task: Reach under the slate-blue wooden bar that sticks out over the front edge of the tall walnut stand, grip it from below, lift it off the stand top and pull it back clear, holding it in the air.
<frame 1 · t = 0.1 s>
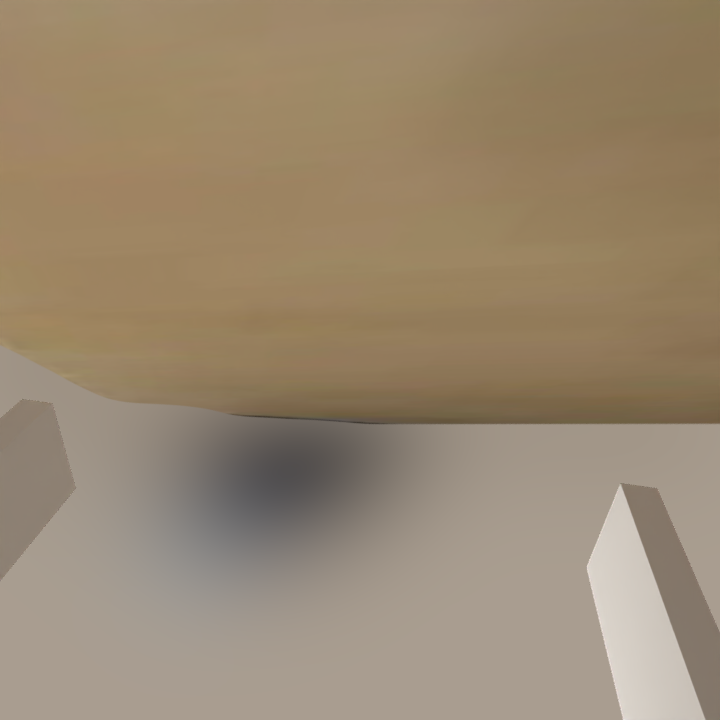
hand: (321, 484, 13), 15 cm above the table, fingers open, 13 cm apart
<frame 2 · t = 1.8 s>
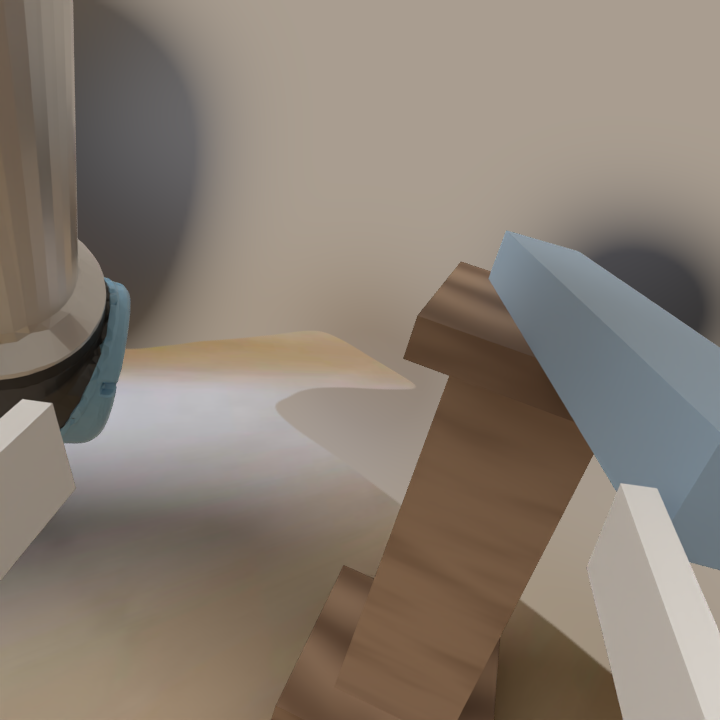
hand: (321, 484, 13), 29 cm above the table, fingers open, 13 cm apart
bar: (583, 364, 23), point 30 cm above the table, touching stand
stand: (387, 707, 40), on the table
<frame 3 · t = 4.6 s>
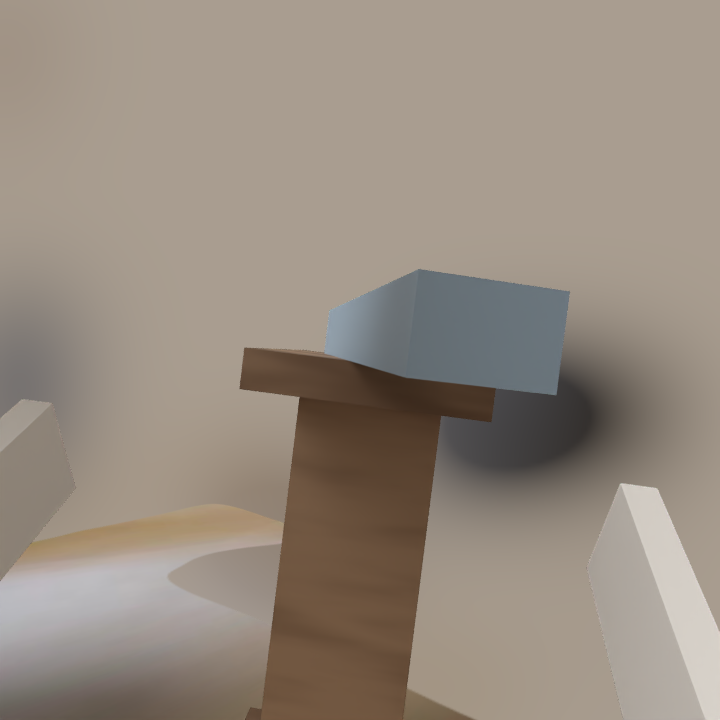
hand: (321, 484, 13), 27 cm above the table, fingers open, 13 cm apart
bar: (392, 365, 28), point 30 cm above the table, touching stand
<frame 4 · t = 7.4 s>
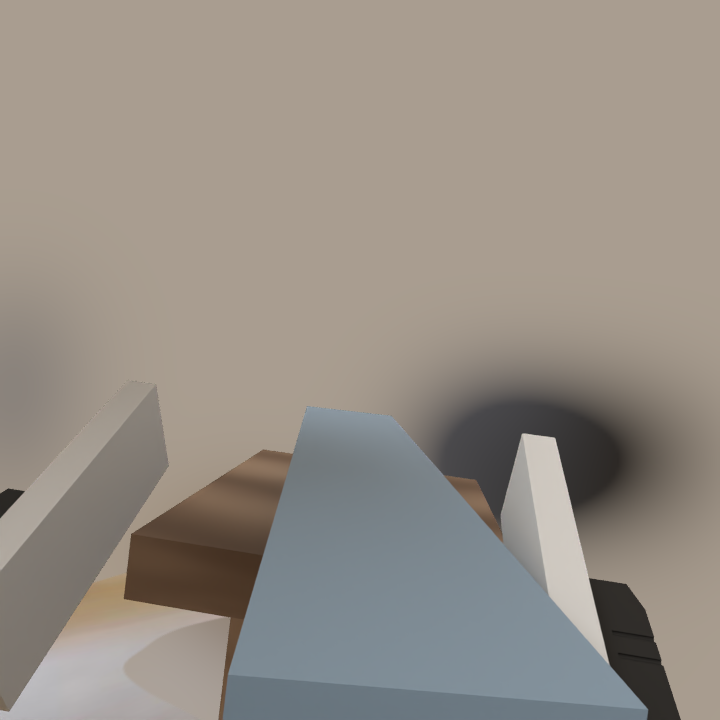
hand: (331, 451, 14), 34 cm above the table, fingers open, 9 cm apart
bar: (353, 550, 18), point 30 cm above the table, touching gripper, stand
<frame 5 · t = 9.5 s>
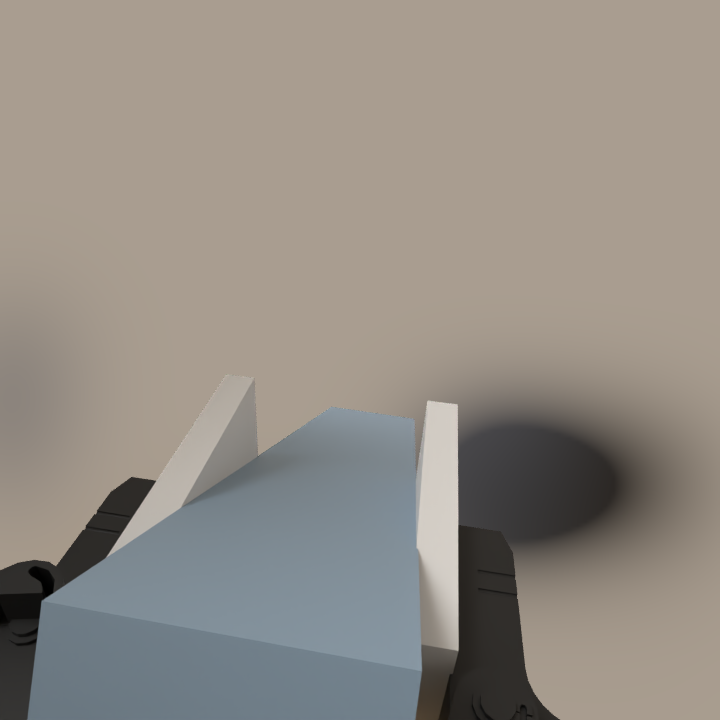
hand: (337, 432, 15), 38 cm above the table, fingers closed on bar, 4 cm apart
bar: (334, 542, 18), point 34 cm above the table, touching gripper
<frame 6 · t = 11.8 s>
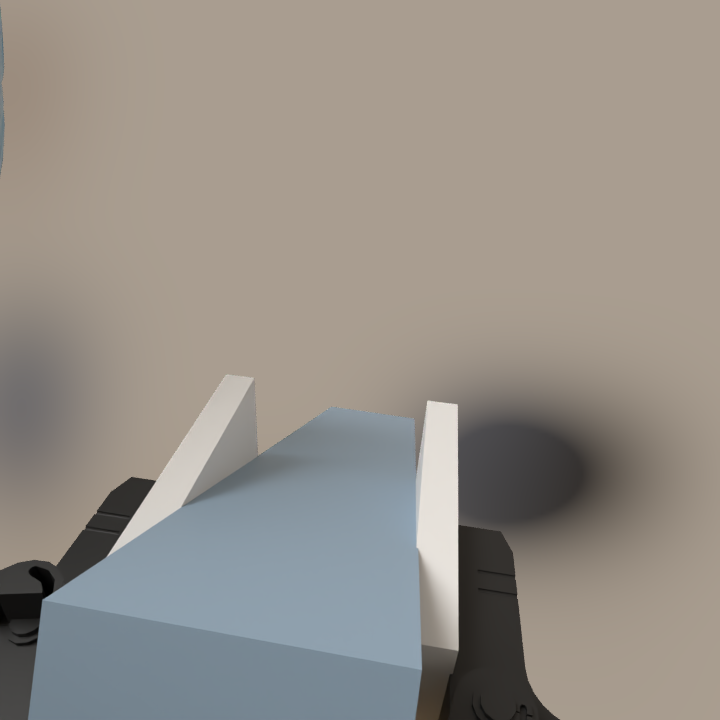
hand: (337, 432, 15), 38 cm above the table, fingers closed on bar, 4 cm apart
bar: (334, 541, 18), point 34 cm above the table, touching gripper
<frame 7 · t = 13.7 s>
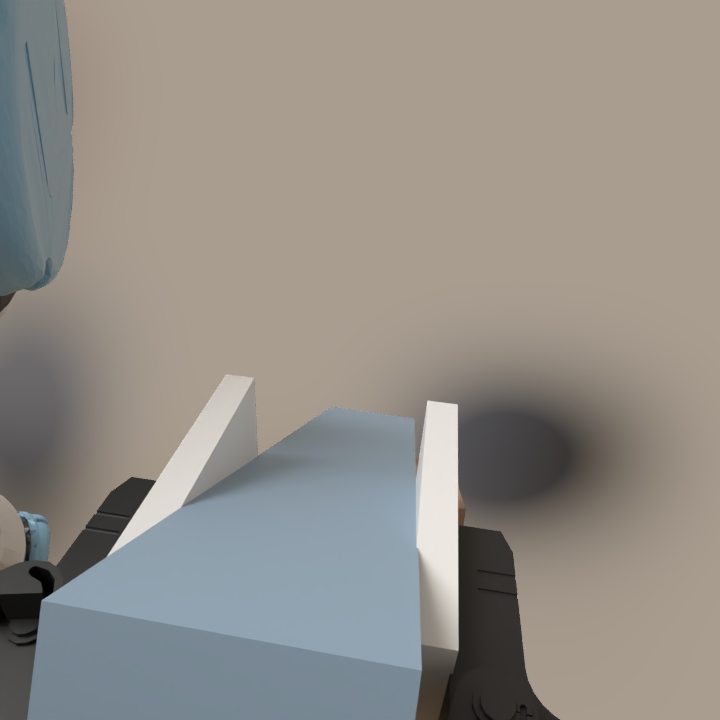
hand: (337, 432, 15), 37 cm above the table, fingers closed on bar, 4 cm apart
bar: (334, 541, 18), point 32 cm above the table, touching gripper
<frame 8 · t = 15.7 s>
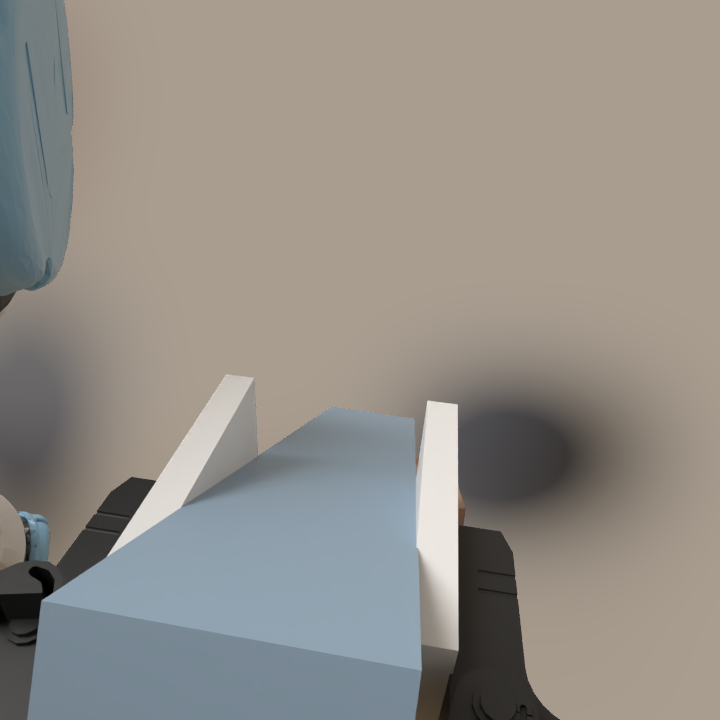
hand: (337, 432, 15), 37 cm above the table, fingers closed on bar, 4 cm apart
bar: (334, 541, 18), point 32 cm above the table, touching gripper
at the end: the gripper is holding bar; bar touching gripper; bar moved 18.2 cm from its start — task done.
